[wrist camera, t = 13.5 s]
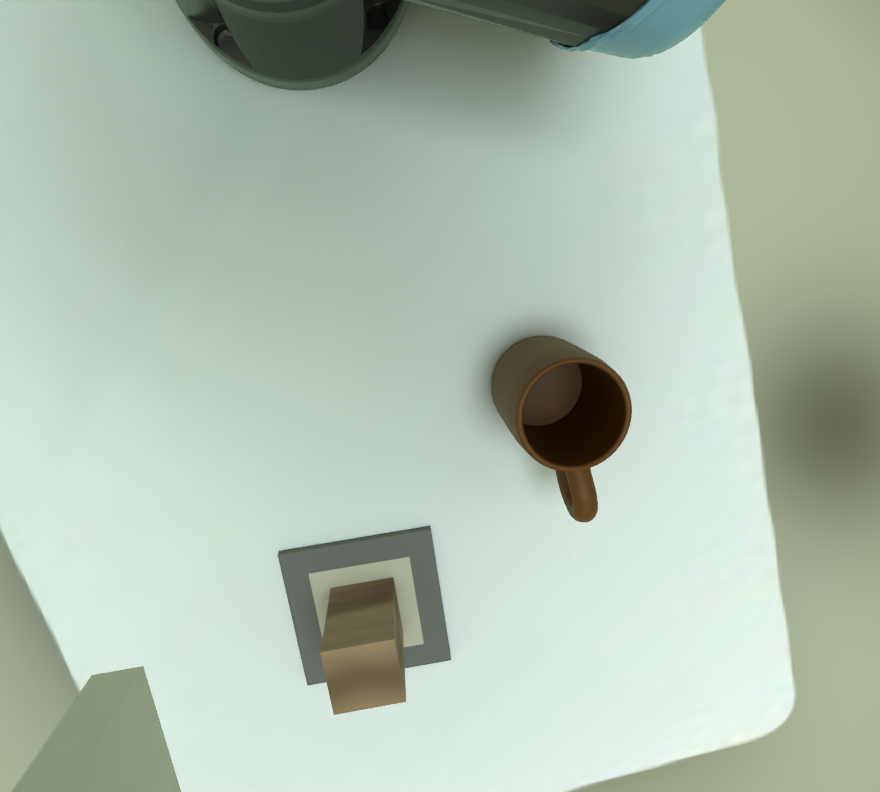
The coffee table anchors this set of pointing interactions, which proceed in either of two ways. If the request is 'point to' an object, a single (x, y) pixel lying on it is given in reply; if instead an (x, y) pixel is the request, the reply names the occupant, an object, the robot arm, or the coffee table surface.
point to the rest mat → (361, 562)
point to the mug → (563, 412)
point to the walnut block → (363, 646)
